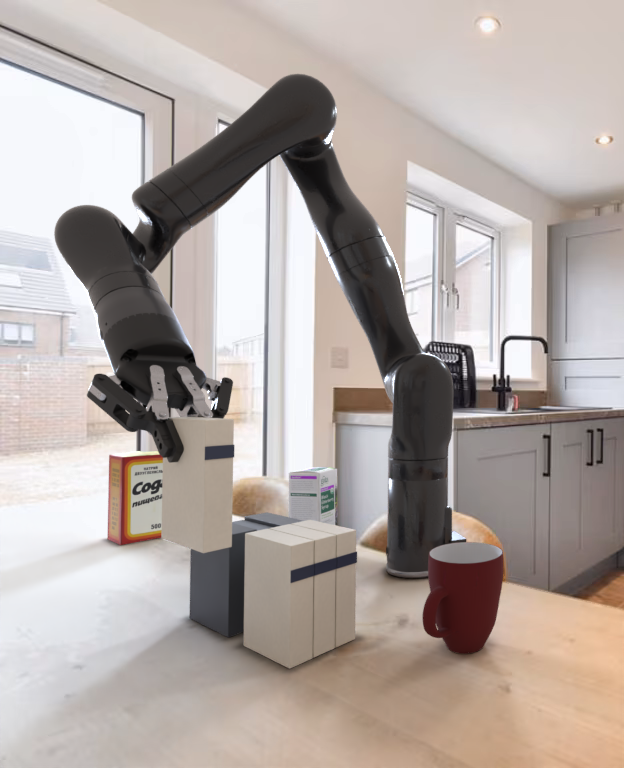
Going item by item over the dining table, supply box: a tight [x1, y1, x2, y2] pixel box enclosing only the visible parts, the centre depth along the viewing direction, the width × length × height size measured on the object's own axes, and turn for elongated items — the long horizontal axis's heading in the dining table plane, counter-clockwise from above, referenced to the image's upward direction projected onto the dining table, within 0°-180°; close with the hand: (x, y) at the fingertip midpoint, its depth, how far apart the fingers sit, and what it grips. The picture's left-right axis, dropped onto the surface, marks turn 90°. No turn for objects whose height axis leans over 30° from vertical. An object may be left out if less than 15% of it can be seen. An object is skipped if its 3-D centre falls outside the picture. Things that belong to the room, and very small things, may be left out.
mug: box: [422, 541, 504, 655], centre depth 57 cm, size 10×8×10 cm
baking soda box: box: [107, 450, 163, 546], centre depth 102 cm, size 10×6×16 cm
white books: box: [243, 520, 358, 670], centre depth 59 cm, size 8×9×12 cm
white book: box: [160, 416, 235, 553], centre depth 52 cm, size 3×9×12 cm, turn 55°
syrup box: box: [288, 466, 339, 526], centre depth 90 cm, size 6×6×14 cm
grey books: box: [189, 511, 303, 638], centre depth 66 cm, size 10×9×11 cm
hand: (195, 454), depth 52 cm, fingers closed on white book, 2 cm apart
